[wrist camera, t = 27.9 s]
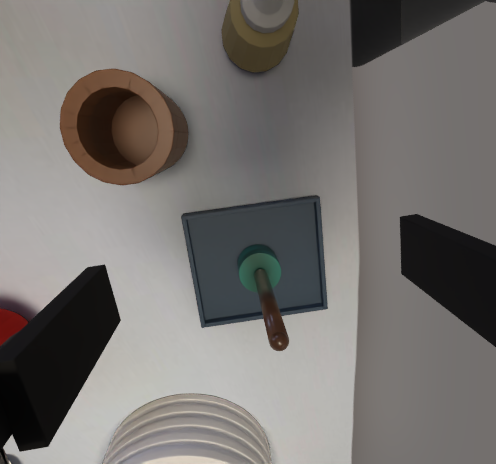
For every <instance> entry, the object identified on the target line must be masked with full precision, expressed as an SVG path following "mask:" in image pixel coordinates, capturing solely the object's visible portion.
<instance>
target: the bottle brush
mask: <svg viewBox="0 0 496 464" xmlns="http://www.w3.org/2000/svg"><path fill="white" fill-rule="evenodd" d="M238 272H239V278H240V281H241V283H242V284H243V286H244V287H245V288H247V289H248V290H250V291H252V292H257V293H258V296H259V300H260V304H261V309H262V313H263V318H264V322H265V326H266V331H267V335H268V340H269V344H270V346H271V347H272V348H273V349H274V350H276V351H283V350H285V349H286V348H287V346H288V344H289V338H288V335H287V332H286V329H285V326H284V323H283V320H282V317H281V314H280V311H279V307H278V304H277V301H276V298H275V295H274V292H273V289H272V288H274V287H275V286H276V285H277V283H278V282H279V280H280V277H281V267H280V264H279V262H278V260H277V257H276V255H275V253H274V252H273V251H272V250H271V249H270V248H269V247H267V246H265V245H261V244H255V245H251V246H249V247H247V248H245V249H244V250H243V251H242V252H241V254H240V256H239V258H238Z"/></svg>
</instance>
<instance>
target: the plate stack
mask: <svg viewBox="0 0 496 464" xmlns="http://www.w3.org/2000/svg"><path fill="white" fill-rule="evenodd" d="M103 464H272V463H271V457H270V449H269V444H268V440H267V438H266V435H265V433H264V431H263V429H262V428H261V426H260V425H259V423H258V422H257V421H256V420H255V419H254V418H253V417H252V416H251V415H250V414H249V413H248V412H247V411H245V410H244V409H242V408H241V407H239V406H238V405H236V404H234V403H232V402H229V401H227V400H224V399H221V398H218V397H214V396H209V395H203V394H180V395H173V396H168V397H164V398H161V399H158V400H155V401H153V402H150V403H148V404H146V405H144V406H142V407H141V408H139V409H138V410H136V411H135V412H133V413H132V414H131V415H130V416H128V417H127V418H126V419H125V420H124V421H123V422H122V424H121V425H120V426H119V427H118V429H117V430H116V432H115V434H114V435H113V437H112V440H111V442H110V445H109V447H108V450H107V453H106V455H105V458H104V461H103Z"/></svg>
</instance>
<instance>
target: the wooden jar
mask: <svg viewBox="0 0 496 464" xmlns="http://www.w3.org/2000/svg"><path fill="white" fill-rule="evenodd" d="M60 130H61V134H62V138H63V142H64V145H65V147H66V149H67V150H68V152H69V153H70V155H71V157H72V158H73V160H74V161H75V163H76V164H78V165H79V166H80V167H81V168H82V169H83V170H84V171H85V172H86V173H87V174H88V175H90V176H92V177H94V178H96V179H98V180H100V181H102V182H105V183H111V184H117V185H128V184H136V183H140V182H142V181H144V180H146V179H148V178H150V177H152V176H154V175H156V174H158V173H160V172H161V171H163V170H165V169H167V168H169V167H171V166H173V165H174V164H175V163H176V162H177V161H178V160H179V159H180V158H181V156H182V155H183V153H184V151H185V149H186V146H187V142H188V126H187V122H186V119H185V117H184V115H183V113H182V111H181V109H180V108H179V107H178V106H177V105H176V103H174V102H173V100H172V99H170V98H169V97H168V96H167V95H165V94H164V93H163V92H161V91H160V90H159V89H157V88H156V87H155V86H153V85H152V84H151V83H150V82H148V81H146V80H145V79H143V78H141V77H139V76H138V75H136V74H134V73H132V72H128V71H123V70H118V69H106V70H98V71H94V72H92V73H90V74H88V75H86V76H84V77H83V78H81V79H79V80H78V81H77V82H76V83H75V84H74V86H73V87H72V88H71V89H70V90H69V91H68V93H67V95H66V97H65V100H64V102H63V105H62V107H61V114H60Z"/></svg>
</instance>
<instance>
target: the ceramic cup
mask: <svg viewBox="0 0 496 464" xmlns="http://www.w3.org/2000/svg"><path fill="white" fill-rule="evenodd" d="M27 324H28V321H27V320H26V319H25V318H24V317H22V316H21V315H19V314H17V313H15V312H12V311H9V310H6V309H0V346H1V345H2V344H3V343H4V342H5V341H6V340H7V339H8V338H9V337H10V336H12V335H14V334H15V333H17V332H18V331H20V330H21V329H22V328H23V327H24V326H26V325H27Z"/></svg>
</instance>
